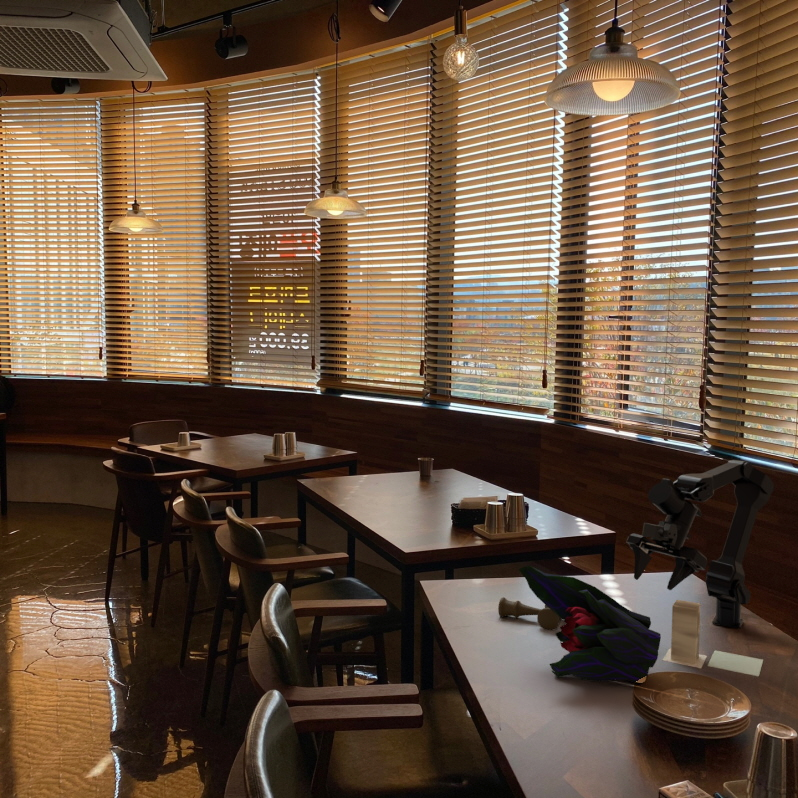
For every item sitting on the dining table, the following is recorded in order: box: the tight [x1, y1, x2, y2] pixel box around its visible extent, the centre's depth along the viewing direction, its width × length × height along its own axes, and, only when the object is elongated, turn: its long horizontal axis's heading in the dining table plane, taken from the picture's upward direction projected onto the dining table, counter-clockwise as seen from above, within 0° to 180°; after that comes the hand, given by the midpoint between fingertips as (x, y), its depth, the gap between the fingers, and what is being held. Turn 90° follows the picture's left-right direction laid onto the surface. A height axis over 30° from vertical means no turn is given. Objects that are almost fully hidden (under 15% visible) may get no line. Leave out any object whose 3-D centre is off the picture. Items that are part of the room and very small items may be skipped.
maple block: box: [670, 599, 702, 664], centre depth 165 cm, size 5×5×12 cm
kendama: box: [497, 597, 563, 631], centre depth 188 cm, size 6×10×20 cm
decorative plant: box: [518, 565, 662, 684], centre depth 158 cm, size 21×26×30 cm
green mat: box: [707, 650, 764, 677], centre depth 163 cm, size 10×10×1 cm
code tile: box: [662, 647, 708, 669], centre depth 166 cm, size 8×8×1 cm
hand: (651, 584), depth 172 cm, fingers open, 9 cm apart
